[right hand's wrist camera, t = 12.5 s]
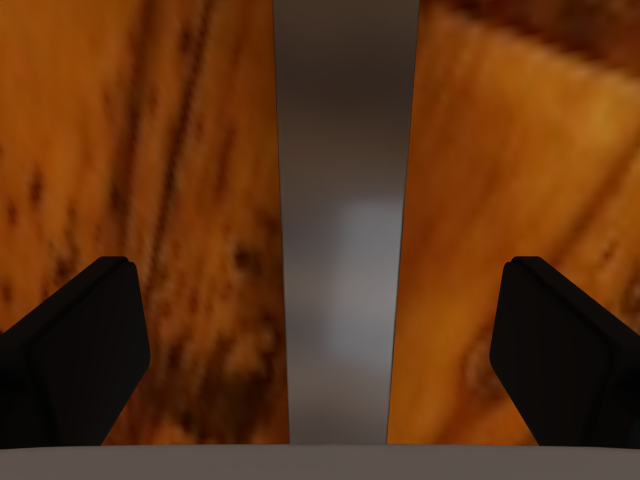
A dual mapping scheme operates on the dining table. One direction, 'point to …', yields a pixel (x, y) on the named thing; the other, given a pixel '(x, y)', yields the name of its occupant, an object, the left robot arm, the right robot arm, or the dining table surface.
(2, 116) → the dining table surface
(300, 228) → the bar
